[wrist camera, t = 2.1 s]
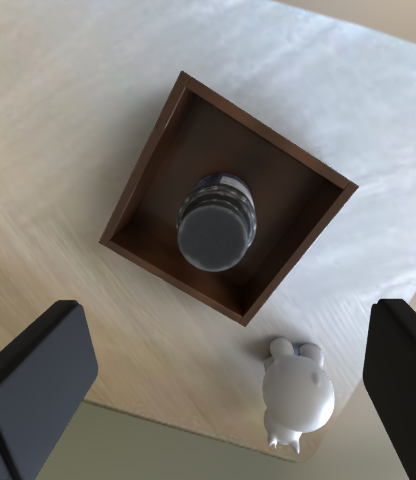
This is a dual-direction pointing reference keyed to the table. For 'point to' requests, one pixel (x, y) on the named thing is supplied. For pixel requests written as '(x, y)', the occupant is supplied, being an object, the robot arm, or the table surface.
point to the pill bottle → (216, 222)
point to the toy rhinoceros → (295, 392)
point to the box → (234, 162)
